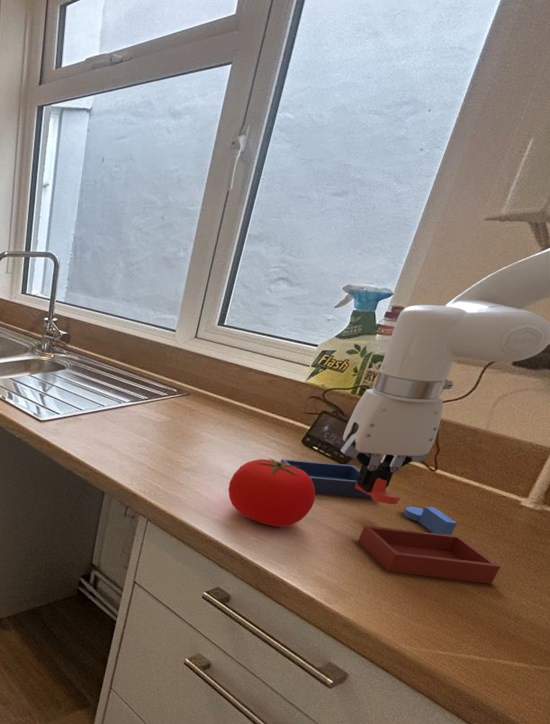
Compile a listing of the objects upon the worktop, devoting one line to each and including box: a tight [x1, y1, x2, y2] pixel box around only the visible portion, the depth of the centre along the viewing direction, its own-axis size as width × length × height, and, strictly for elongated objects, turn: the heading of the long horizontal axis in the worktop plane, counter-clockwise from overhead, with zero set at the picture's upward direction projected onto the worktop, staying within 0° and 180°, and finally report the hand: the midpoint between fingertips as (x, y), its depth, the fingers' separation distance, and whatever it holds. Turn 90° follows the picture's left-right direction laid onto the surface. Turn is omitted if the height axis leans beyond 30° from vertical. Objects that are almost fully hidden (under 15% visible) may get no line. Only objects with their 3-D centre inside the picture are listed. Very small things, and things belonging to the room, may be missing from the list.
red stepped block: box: [355, 474, 401, 505], centre depth 88 cm, size 8×3×3 cm, turn 166°
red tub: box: [357, 525, 501, 585], centre depth 78 cm, size 12×8×3 cm, turn 76°
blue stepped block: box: [403, 506, 458, 535], centre depth 87 cm, size 8×3×3 cm, turn 167°
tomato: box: [228, 457, 316, 527], centre depth 88 cm, size 11×12×10 cm
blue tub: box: [280, 458, 372, 499], centre depth 100 cm, size 12×8×3 cm, turn 76°
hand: (370, 488), depth 89 cm, fingers closed on red stepped block, 1 cm apart
